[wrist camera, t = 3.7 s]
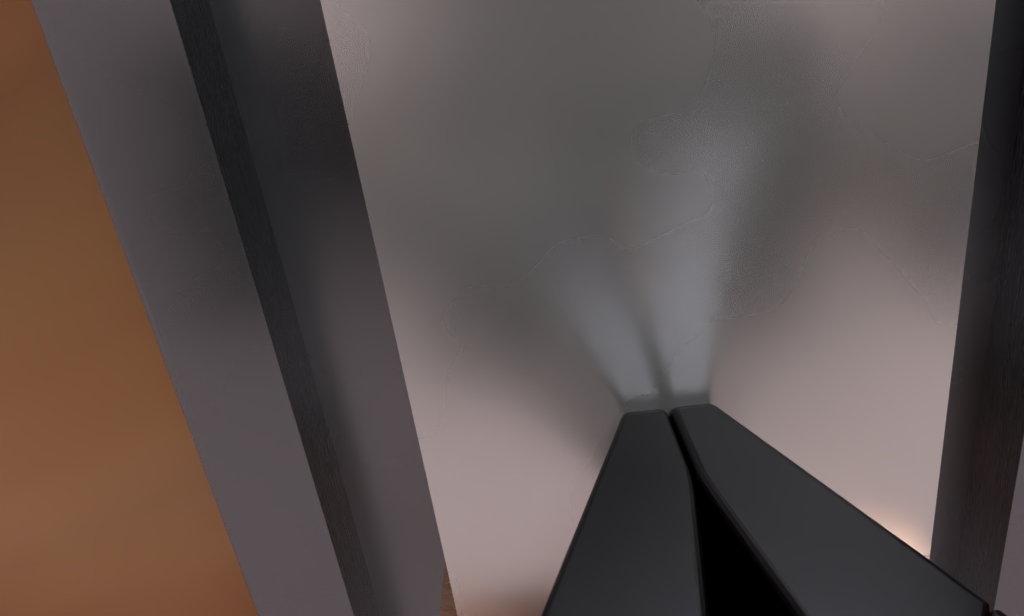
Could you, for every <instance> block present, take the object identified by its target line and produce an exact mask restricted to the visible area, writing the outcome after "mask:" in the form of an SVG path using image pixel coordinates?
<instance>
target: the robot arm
mask: <svg viewBox="0 0 1024 616" xmlns="http://www.w3.org/2000/svg"><path fill="white" fill-rule="evenodd" d="M990 612H991V613H990ZM541 616H1007V615H1006V614H1004V613H1003V612H1002V611H1000V610H993V611H991V606H990V604H989V603H988V602H987V601H986V600H984V599H983V598H982V597H980V596H979V595H977V594H976V593H975V592H973V591H972V590H971V589H969V588H968V587H966V586H965V585H964V584H962V583H961V582H959V581H958V580H957V579H955V578H954V577H953V576H951V575H950V574H948V573H947V572H946V571H944V570H943V569H941V568H940V567H939V566H937V565H936V564H934V563H933V562H932V561H930V560H929V559H928V558H926V557H925V556H923V555H922V554H921V553H919V552H918V551H916V550H915V549H914V548H912V547H911V546H910V545H908V544H907V543H905V542H904V541H903V540H901V539H900V538H898V537H897V536H896V535H894V534H893V533H891V532H890V531H889V530H887V529H886V528H885V527H883V526H882V525H880V524H879V523H878V522H876V521H875V520H873V519H872V518H871V517H869V516H868V515H867V514H865V513H864V512H862V511H861V510H860V509H858V508H857V507H855V506H854V505H853V504H851V503H850V502H848V501H847V500H846V499H844V498H843V497H842V496H840V495H839V494H837V493H836V492H835V491H833V490H832V489H830V488H829V487H828V486H826V485H825V484H824V483H822V482H821V481H819V480H818V479H817V478H815V477H814V476H812V475H811V474H810V473H808V472H807V471H805V470H804V469H803V468H801V467H800V466H799V465H797V464H796V463H794V462H793V461H792V460H790V459H789V458H787V457H786V456H785V455H783V454H782V453H781V452H779V451H778V450H776V449H775V448H774V447H772V446H771V445H769V444H768V443H767V442H765V441H764V440H762V439H761V438H760V437H758V436H757V435H756V434H754V433H753V432H751V431H750V430H749V429H747V428H746V427H744V426H743V425H742V424H740V423H739V422H738V421H736V420H735V419H733V418H732V417H731V416H729V415H728V414H726V413H725V412H724V411H722V410H721V409H719V408H718V407H717V406H715V405H713V404H708V403H706V404H698V405H689V406H681V407H675V408H673V409H672V410H671V411H670V414H669V417H668V415H667V413H666V412H665V411H664V410H662V409H654V410H645V411H636V412H628V413H625V414H624V415H623V416H622V418H621V420H620V422H619V425H618V427H617V430H616V432H615V435H614V437H613V440H612V442H611V445H610V447H609V449H608V452H607V454H606V457H605V459H604V462H603V464H602V467H601V469H600V472H599V474H598V476H597V479H596V481H595V484H594V486H593V489H592V491H591V494H590V496H589V499H588V501H587V503H586V506H585V508H584V511H583V513H582V516H581V518H580V521H579V523H578V525H577V528H576V530H575V533H574V535H573V538H572V540H571V543H570V545H569V548H568V550H567V552H566V555H565V557H564V560H563V562H562V565H561V567H560V570H559V572H558V575H557V577H556V579H555V582H554V584H553V587H552V589H551V592H550V594H549V597H548V599H547V602H546V604H545V606H544V609H543V611H542V614H541Z"/></svg>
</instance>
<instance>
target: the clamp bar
mask: <svg viewBox="0 0 1024 616" xmlns="http://www.w3.org/2000/svg"><path fill="white" fill-rule="evenodd" d="M320 1H321V6H322V10H323V15H324V19H325V24H326V28H327V33H328V37H329V42H330V46H331V51H332V55H333V60H334V64H335V69H336V73H337V78H338V82H339V87H340V91H341V95H342V100H343V104H344V109H345V113H346V118H347V122H348V127H349V131H350V136H351V140H352V145H353V149H354V154H355V158H356V163H357V167H358V172H359V176H360V181H361V185H362V190H363V194H364V199H365V203H366V208H367V212H368V217H369V221H370V226H371V230H372V234H373V239H374V243H375V248H376V252H377V257H378V261H379V266H380V270H381V275H382V279H383V284H384V288H385V293H386V297H387V302H388V306H389V311H390V315H391V320H392V324H393V329H394V333H395V338H396V342H397V347H398V351H399V356H400V360H401V365H402V369H403V373H404V378H405V382H406V387H407V391H408V396H409V400H410V405H411V409H412V414H413V418H414V423H415V427H416V432H417V436H418V441H419V445H420V450H421V454H422V459H423V463H424V468H425V472H426V477H427V481H428V486H429V490H430V495H431V499H432V503H433V508H434V512H435V517H436V521H437V526H438V530H439V535H440V539H441V544H442V548H443V553H444V557H445V562H446V566H447V571H448V575H449V580H450V584H451V589H452V593H453V598H454V602H455V607H456V611H457V616H541V614H542V611H543V609H544V606H545V604H546V602H547V599H548V597H549V594H550V592H551V589H552V587H553V584H554V582H555V579H556V577H557V575H558V572H559V570H560V567H561V565H562V562H563V560H564V557H565V555H566V552H567V550H568V548H569V545H570V543H571V540H572V538H573V535H574V533H575V530H576V528H577V525H578V523H579V521H580V518H581V516H582V513H583V511H584V508H585V506H586V503H587V501H588V499H589V496H590V494H591V491H592V489H593V486H594V484H595V481H596V479H597V476H598V474H599V472H600V469H601V467H602V464H603V462H604V459H605V457H606V454H607V452H608V449H609V447H610V445H611V442H612V440H613V437H614V435H615V432H616V430H617V427H618V425H619V422H620V420H621V418H622V416H623V415H624V414H625V413H628V412H636V411H645V410H654V409H662V410H664V411H665V412H666V413H667V415H668V417H669V414H670V411H671V410H672V409H673V408H675V407H681V406H689V405H698V404H706V403H708V404H713V405H715V406H717V407H718V408H719V409H721V410H722V411H724V412H725V413H726V414H728V415H729V416H731V417H732V418H733V419H735V420H736V421H738V422H739V423H740V424H742V425H743V426H744V427H746V428H747V429H749V430H750V431H751V432H753V433H754V434H756V435H757V436H758V437H760V438H761V439H762V440H764V441H765V442H767V443H768V444H769V445H771V446H772V447H774V448H775V449H776V450H778V451H779V452H781V453H782V454H783V455H785V456H786V457H787V458H789V459H790V460H792V461H793V462H794V463H796V464H797V465H799V466H800V467H801V468H803V469H804V470H805V471H807V472H808V473H810V474H811V475H812V476H814V477H815V478H817V479H818V480H819V481H821V482H822V483H824V484H825V485H826V486H828V487H829V488H830V489H832V490H833V491H835V492H836V493H837V494H839V495H840V496H842V497H843V498H844V499H846V500H847V501H848V502H850V503H851V504H853V505H854V506H855V507H857V508H858V509H860V510H861V511H862V512H864V513H865V514H867V515H868V516H869V517H871V518H872V519H873V520H875V521H876V522H878V523H879V524H880V525H882V526H883V527H885V528H886V529H887V530H889V531H890V532H891V533H893V534H894V535H896V536H897V537H898V538H900V539H901V540H903V541H904V542H905V543H907V544H908V545H910V546H911V547H912V548H914V549H915V550H916V551H918V552H919V553H921V554H922V555H923V556H925V557H926V558H928V559H929V558H930V550H931V541H932V533H933V524H934V516H935V508H936V499H937V491H938V482H939V474H940V466H941V457H942V449H943V441H944V432H945V424H946V415H947V407H948V399H949V390H950V382H951V373H952V365H953V357H954V348H955V340H956V331H957V323H958V315H959V306H960V298H961V289H962V281H963V273H964V264H965V256H966V247H967V239H968V231H969V222H970V214H971V205H972V197H973V189H974V180H975V172H976V163H977V155H978V147H979V138H980V130H981V122H982V113H983V105H984V96H985V88H986V80H987V71H988V63H989V54H990V46H991V38H992V29H993V21H994V12H995V4H996V0H320Z"/></svg>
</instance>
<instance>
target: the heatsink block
mask: <svg viewBox="0 0 1024 616" xmlns="http://www.w3.org/2000/svg"><path fill="white" fill-rule="evenodd" d="M31 1H32V4H33V6H34V9H35V12H36V14H37V17H38V20H39V23H40V25H41V28H42V31H43V33H44V36H45V39H46V42H47V44H48V47H49V50H50V52H51V55H52V58H53V61H54V63H55V66H56V69H57V71H58V74H59V77H60V80H61V82H62V85H63V88H64V90H65V93H66V96H67V98H68V101H69V104H70V107H71V109H72V112H73V115H74V117H75V120H76V123H77V126H78V128H79V131H80V134H81V136H82V139H83V142H84V145H85V147H86V150H87V153H88V155H89V158H90V161H91V164H92V166H93V169H94V172H95V174H96V177H97V180H98V182H99V185H100V188H101V191H102V193H103V196H104V199H105V201H106V204H107V207H108V210H109V212H110V215H111V218H112V220H113V223H114V226H115V229H116V231H117V234H118V237H119V239H120V242H121V245H122V248H123V250H124V253H125V256H126V258H127V261H128V264H129V267H130V269H131V272H132V275H133V277H134V280H135V283H136V285H137V288H138V291H139V294H140V296H141V299H142V302H143V304H144V307H145V310H146V313H147V315H148V318H149V321H150V323H151V326H152V329H153V332H154V334H155V337H156V340H157V342H158V345H159V348H160V351H161V353H162V356H163V359H164V361H165V364H166V367H167V369H168V372H169V375H170V378H171V380H172V383H173V386H174V388H175V391H176V394H177V397H178V399H179V402H180V405H181V407H182V410H183V413H184V416H185V418H186V421H187V424H188V426H189V429H190V432H191V435H192V437H193V440H194V443H195V445H196V448H197V451H198V453H199V456H200V459H201V462H202V464H203V467H204V470H205V472H206V475H207V478H208V481H209V483H210V486H211V489H212V491H213V494H214V497H215V500H216V502H217V505H218V508H219V510H220V513H221V516H222V519H223V521H224V524H225V527H226V529H227V532H228V535H229V537H230V540H231V543H232V546H233V548H234V551H235V554H236V556H237V559H238V562H239V565H240V567H241V570H242V573H243V575H244V578H245V581H246V584H247V586H248V589H249V592H250V594H251V597H252V600H253V603H254V605H255V608H256V611H257V613H258V616H457V611H456V607H455V602H454V598H453V593H452V589H451V584H450V580H449V575H448V571H447V566H446V562H445V557H444V553H443V548H442V544H441V539H440V535H439V530H438V526H437V521H436V517H435V512H434V508H433V503H432V499H431V495H430V490H429V486H428V481H427V477H426V472H425V468H424V463H423V459H422V454H421V450H420V445H419V441H418V436H417V432H416V427H415V423H414V418H413V414H412V409H411V405H410V400H409V396H408V391H407V387H406V382H405V378H404V373H403V369H402V365H401V360H400V356H399V351H398V347H397V342H396V338H395V333H394V329H393V324H392V320H391V315H390V311H389V306H388V302H387V297H386V293H385V288H384V284H383V279H382V275H381V270H380V266H379V261H378V257H377V252H376V248H375V243H374V239H373V234H372V230H371V226H370V221H369V217H368V212H367V208H366V203H365V199H364V194H363V190H362V185H361V181H360V176H359V172H358V167H357V163H356V158H355V154H354V149H353V145H352V140H351V136H350V131H349V127H348V122H347V118H346V113H345V109H344V104H343V100H342V95H341V91H340V87H339V82H338V78H337V73H336V69H335V64H334V60H333V55H332V51H331V46H330V42H329V37H328V33H327V28H326V24H325V19H324V15H323V10H322V6H321V1H320V0H31ZM929 560H930V561H932V562H933V563H934V564H936V565H937V566H939V567H940V568H941V569H943V570H944V571H946V572H947V573H948V574H950V575H951V576H953V577H954V578H955V579H957V580H958V581H959V582H961V583H962V584H964V585H965V586H966V587H968V588H969V589H971V590H972V591H973V592H975V593H976V594H977V595H979V596H980V597H982V598H983V599H984V600H986V601H987V602H988V603H989V604H990V606H991V611H993V610H1000V611H1002V612H1003V613H1004V614H1006V615H1007V616H1024V0H996V4H995V12H994V21H993V29H992V38H991V46H990V54H989V63H988V71H987V80H986V88H985V96H984V105H983V113H982V122H981V130H980V138H979V147H978V155H977V163H976V172H975V180H974V189H973V197H972V205H971V214H970V222H969V231H968V239H967V247H966V256H965V264H964V273H963V281H962V289H961V298H960V306H959V315H958V323H957V331H956V340H955V348H954V357H953V365H952V373H951V382H950V390H949V399H948V407H947V415H946V424H945V432H944V441H943V449H942V457H941V466H940V474H939V482H938V491H937V499H936V508H935V516H934V524H933V533H932V541H931V550H930V558H929ZM990 613H991V612H990Z"/></svg>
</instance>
